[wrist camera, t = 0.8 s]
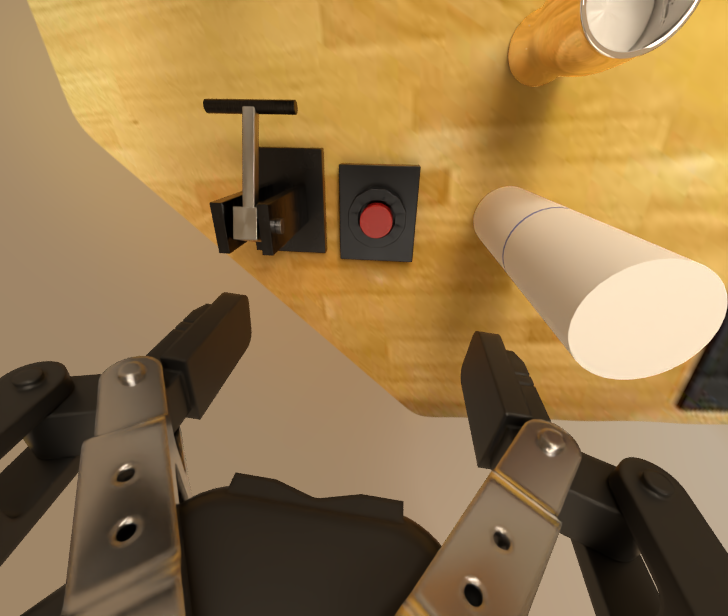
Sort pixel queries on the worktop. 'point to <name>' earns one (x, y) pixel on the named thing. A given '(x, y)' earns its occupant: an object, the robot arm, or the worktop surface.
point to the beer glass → (591, 36)
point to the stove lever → (249, 155)
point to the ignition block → (378, 186)
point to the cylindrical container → (602, 285)
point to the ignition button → (376, 220)
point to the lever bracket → (281, 203)
